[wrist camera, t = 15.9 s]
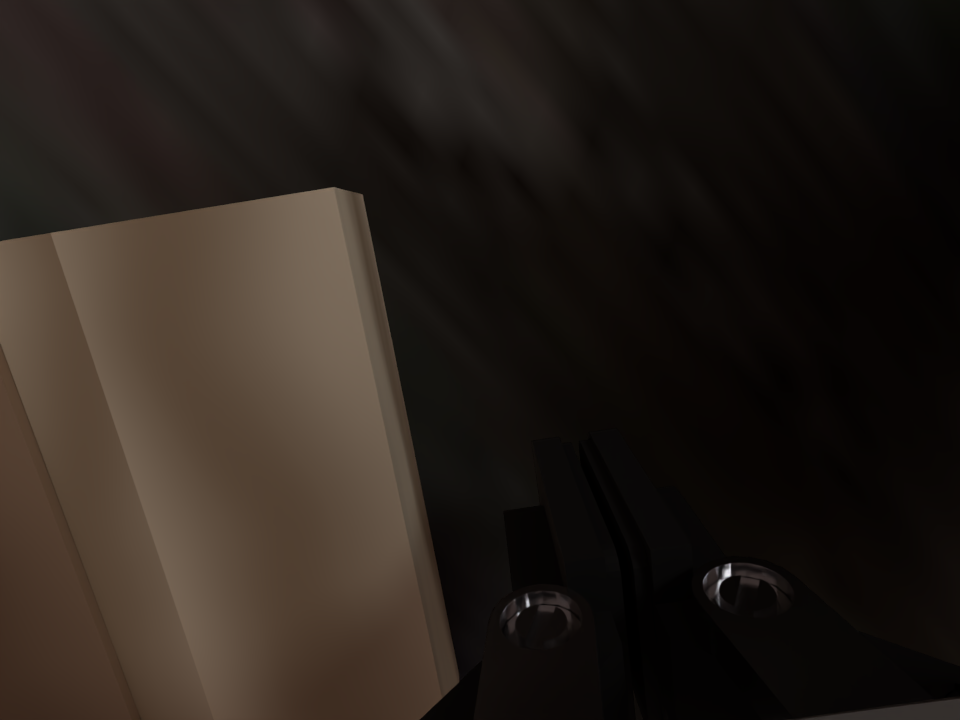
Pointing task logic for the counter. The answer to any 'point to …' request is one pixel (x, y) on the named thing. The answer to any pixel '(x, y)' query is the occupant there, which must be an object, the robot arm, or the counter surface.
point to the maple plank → (235, 458)
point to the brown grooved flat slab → (47, 594)
